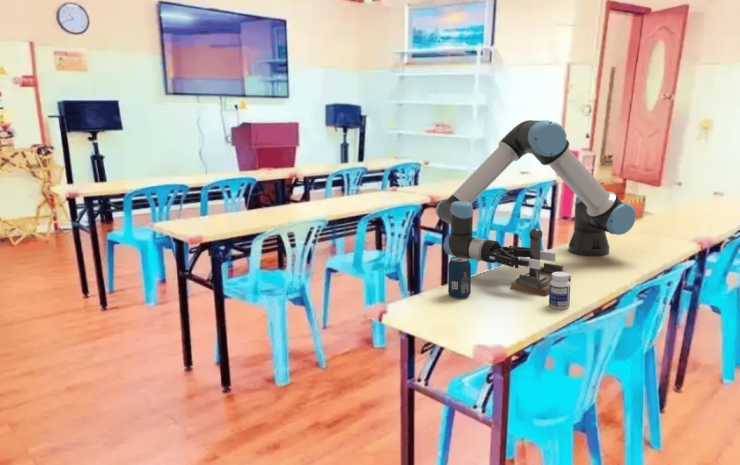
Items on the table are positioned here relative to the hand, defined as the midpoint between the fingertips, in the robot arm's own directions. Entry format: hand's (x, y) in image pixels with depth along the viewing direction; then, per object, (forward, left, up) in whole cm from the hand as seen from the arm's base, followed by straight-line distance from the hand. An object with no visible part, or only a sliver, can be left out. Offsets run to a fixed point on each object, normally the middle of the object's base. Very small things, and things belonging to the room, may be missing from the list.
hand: (547, 261), depth 174 cm
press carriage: (0, -4, -8) cm, 9 cm away
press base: (-5, -4, -10) cm, 12 cm away
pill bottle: (+10, +9, -10) cm, 17 cm away
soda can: (+20, -19, -10) cm, 30 cm away
